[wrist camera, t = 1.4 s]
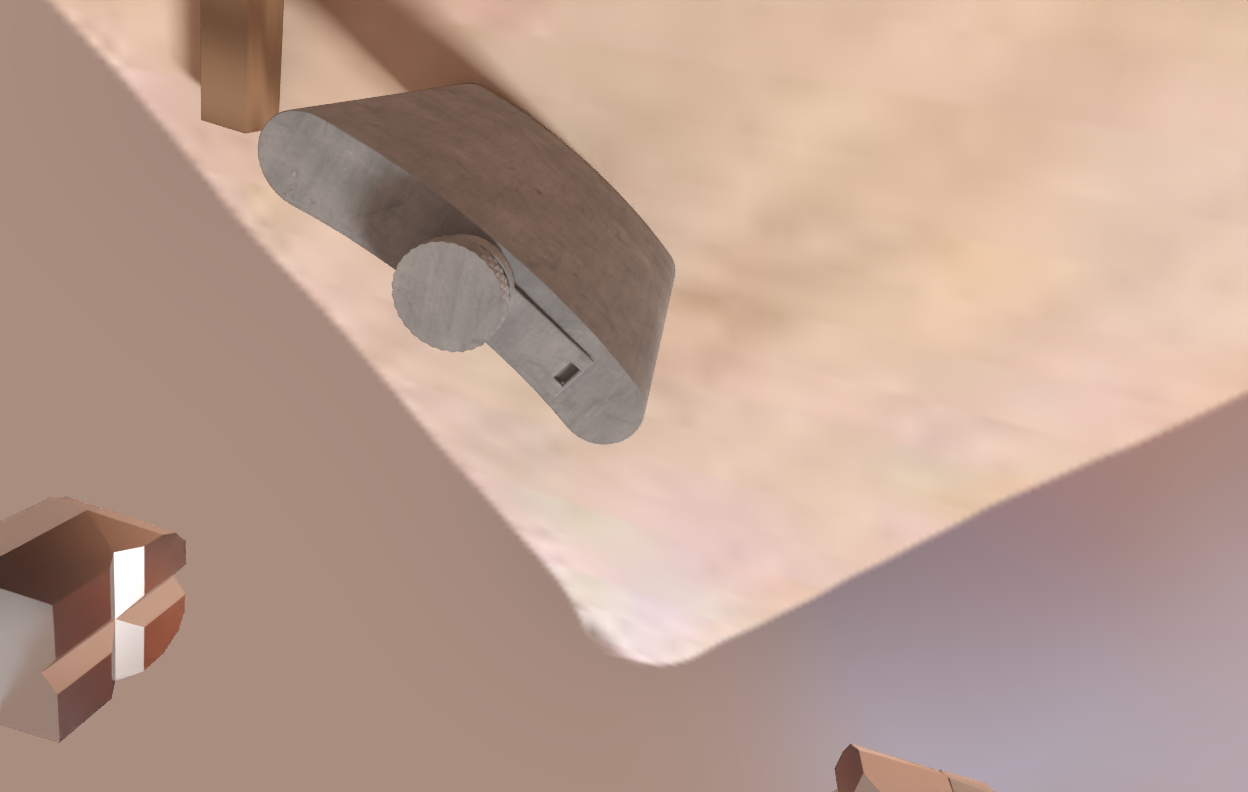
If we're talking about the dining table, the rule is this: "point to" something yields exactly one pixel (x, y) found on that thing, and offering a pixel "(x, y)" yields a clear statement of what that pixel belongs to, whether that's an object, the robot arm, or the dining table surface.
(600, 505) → the dining table surface
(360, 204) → the hip flask
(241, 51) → the spatula
